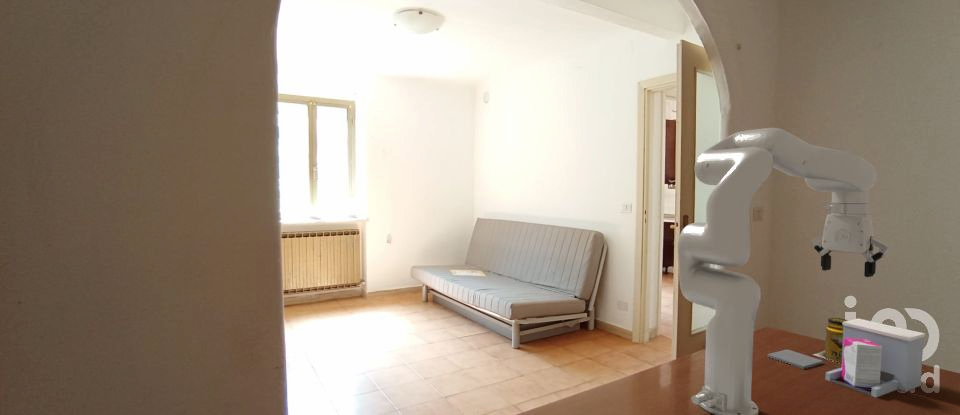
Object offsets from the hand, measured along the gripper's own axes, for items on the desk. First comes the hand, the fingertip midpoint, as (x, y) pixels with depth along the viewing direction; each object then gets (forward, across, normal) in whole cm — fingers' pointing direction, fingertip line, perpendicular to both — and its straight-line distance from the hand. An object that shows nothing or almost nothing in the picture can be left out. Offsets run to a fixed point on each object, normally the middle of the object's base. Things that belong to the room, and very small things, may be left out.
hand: (846, 273), depth 120 cm
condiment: (+29, -8, +12) cm, 32 cm away
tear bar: (+28, +5, -8) cm, 29 cm away
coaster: (+28, -12, 0) cm, 31 cm away
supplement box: (+28, +5, -3) cm, 29 cm away
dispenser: (+28, +5, +2) cm, 29 cm away
